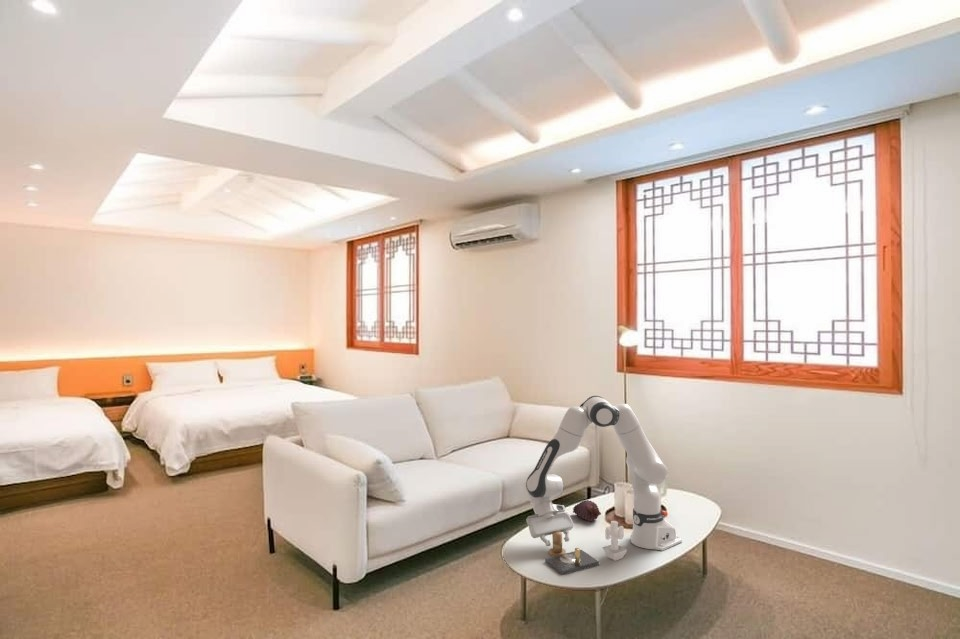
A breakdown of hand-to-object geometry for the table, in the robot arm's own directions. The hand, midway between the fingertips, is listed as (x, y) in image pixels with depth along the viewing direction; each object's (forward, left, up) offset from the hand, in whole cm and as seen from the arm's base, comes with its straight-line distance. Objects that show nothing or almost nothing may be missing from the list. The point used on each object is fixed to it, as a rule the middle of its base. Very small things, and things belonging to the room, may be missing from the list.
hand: (558, 543), depth 224 cm
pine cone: (-34, -26, -5) cm, 43 cm away
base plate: (0, +10, -4) cm, 11 cm away
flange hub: (0, -1, -5) cm, 5 cm away
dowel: (0, +14, -3) cm, 14 cm away
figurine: (-19, +13, -5) cm, 24 cm away
